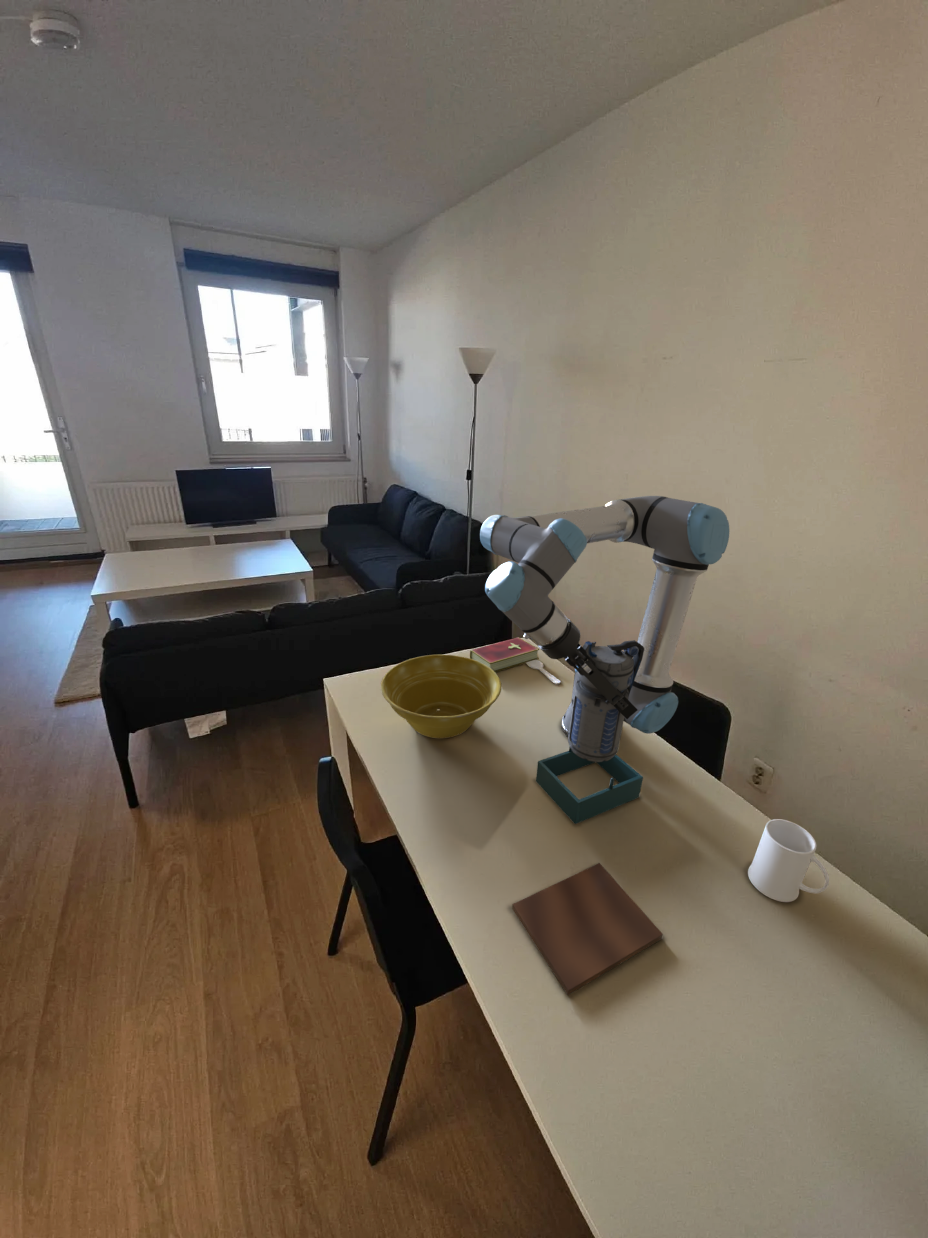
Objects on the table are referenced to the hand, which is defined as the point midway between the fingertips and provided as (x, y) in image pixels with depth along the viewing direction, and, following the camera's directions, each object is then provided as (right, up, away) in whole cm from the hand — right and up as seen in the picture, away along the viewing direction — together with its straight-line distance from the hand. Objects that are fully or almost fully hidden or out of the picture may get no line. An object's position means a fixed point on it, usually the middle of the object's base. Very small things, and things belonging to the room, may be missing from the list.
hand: (617, 698), depth 101 cm
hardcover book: (-17, +2, +75) cm, 77 cm away
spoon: (-4, -2, +69) cm, 69 cm away
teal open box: (-2, -24, +17) cm, 30 cm away
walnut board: (-10, -37, -13) cm, 41 cm away
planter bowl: (-37, -13, +40) cm, 56 cm away
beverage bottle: (-3, -11, +4) cm, 12 cm away
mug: (+29, -35, -5) cm, 46 cm away
